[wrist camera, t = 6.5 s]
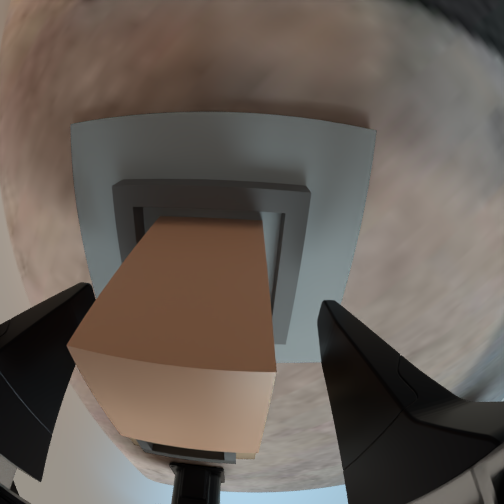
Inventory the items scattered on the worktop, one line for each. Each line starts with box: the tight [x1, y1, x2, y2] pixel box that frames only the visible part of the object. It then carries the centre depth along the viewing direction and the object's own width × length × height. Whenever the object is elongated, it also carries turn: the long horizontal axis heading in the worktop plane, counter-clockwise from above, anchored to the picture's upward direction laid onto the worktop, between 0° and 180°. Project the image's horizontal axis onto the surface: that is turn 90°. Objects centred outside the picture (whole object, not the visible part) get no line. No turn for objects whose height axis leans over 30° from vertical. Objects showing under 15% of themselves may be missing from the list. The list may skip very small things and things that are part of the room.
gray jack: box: [71, 112, 376, 363], centre depth 11 cm, size 12×12×2 cm
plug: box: [66, 216, 277, 453], centre depth 8 cm, size 4×4×7 cm
